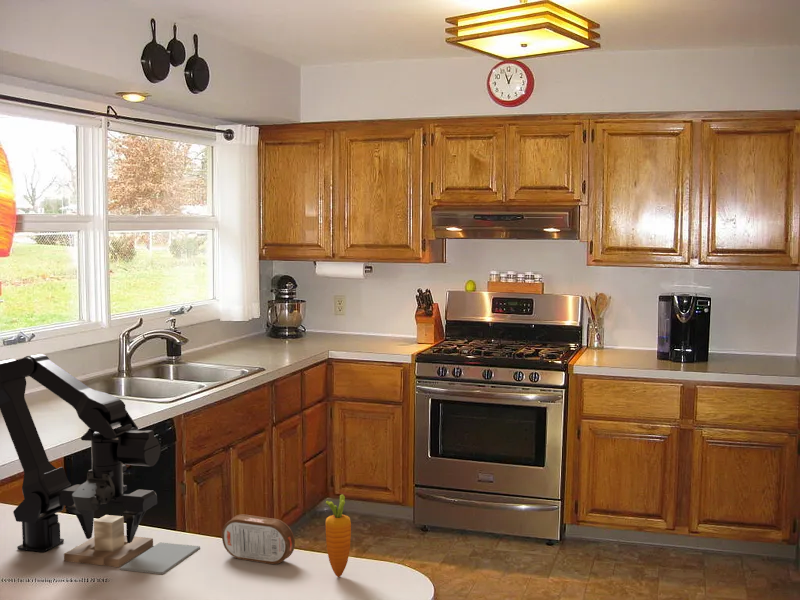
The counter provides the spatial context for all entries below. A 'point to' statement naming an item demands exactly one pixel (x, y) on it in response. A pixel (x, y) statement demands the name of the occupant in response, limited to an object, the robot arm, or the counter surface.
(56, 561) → the counter surface
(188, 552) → the mat
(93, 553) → the pocket board
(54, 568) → the counter surface
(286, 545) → the tin
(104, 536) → the block
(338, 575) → the carrot
